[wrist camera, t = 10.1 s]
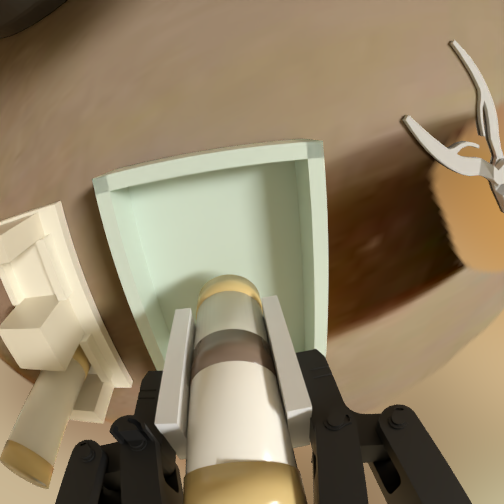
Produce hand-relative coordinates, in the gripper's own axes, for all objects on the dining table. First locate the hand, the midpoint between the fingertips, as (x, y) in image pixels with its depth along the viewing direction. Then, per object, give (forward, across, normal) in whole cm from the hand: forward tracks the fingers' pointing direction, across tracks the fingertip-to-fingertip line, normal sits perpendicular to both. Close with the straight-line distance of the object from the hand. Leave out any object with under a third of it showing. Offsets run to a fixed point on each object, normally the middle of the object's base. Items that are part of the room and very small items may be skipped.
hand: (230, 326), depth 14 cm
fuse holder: (+5, -14, -1) cm, 15 cm away
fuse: (+4, -14, -5) cm, 15 cm away
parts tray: (+5, 0, 0) cm, 5 cm away
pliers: (+6, +21, +8) cm, 23 cm away
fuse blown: (+2, 0, 0) cm, 2 cm away
